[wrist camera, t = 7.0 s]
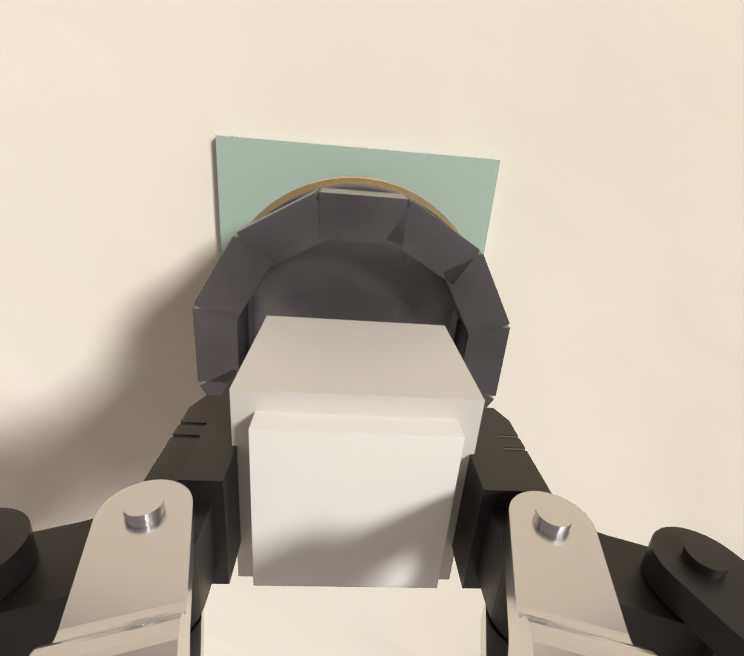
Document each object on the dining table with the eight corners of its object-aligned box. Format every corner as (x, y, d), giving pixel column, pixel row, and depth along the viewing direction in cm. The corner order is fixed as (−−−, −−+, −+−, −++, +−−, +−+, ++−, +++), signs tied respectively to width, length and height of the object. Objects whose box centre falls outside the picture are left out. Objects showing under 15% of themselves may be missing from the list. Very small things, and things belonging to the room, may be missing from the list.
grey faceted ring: (463, 179, 21) (545, 200, 12) (435, 365, 25) (482, 487, 16) (251, 161, 20) (172, 170, 11) (255, 356, 24) (198, 478, 15)
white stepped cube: (444, 325, 10) (494, 417, 7) (423, 467, 12) (454, 603, 8) (266, 315, 10) (220, 405, 7) (268, 462, 12) (231, 600, 8)
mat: (497, 159, 21) (500, 160, 20) (444, 466, 27) (445, 471, 27) (218, 136, 20) (215, 135, 20) (232, 458, 27) (231, 463, 26)
